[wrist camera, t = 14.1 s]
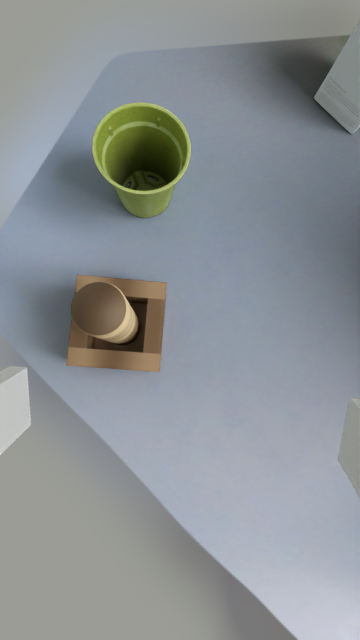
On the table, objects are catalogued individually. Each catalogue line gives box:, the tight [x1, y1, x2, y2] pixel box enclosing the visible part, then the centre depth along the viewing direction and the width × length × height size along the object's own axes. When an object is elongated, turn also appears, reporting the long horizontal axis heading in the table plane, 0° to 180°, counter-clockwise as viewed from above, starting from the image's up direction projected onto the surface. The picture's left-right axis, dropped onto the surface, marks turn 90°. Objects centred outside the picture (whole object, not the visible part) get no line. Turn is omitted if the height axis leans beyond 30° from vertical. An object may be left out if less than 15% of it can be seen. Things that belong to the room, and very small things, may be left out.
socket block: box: [66, 275, 167, 372], centre depth 33 cm, size 9×9×5 cm
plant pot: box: [92, 103, 191, 218], centre depth 33 cm, size 9×9×9 cm
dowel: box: [71, 282, 140, 345], centre depth 28 cm, size 4×4×12 cm
